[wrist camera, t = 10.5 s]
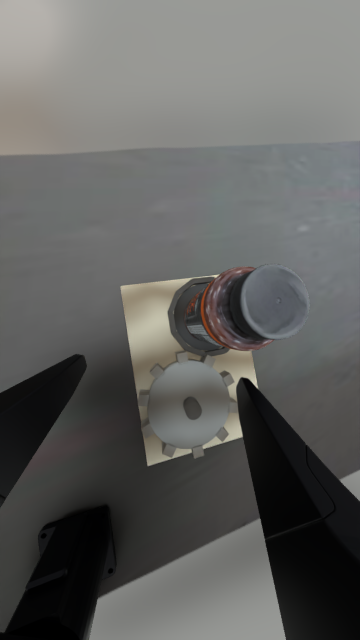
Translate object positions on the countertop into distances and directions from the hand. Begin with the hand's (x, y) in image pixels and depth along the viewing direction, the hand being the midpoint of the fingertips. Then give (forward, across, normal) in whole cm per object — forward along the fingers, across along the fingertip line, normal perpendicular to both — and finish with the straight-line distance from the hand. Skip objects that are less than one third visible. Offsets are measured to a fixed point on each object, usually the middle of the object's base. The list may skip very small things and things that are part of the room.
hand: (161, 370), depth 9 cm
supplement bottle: (+11, -4, +2) cm, 12 cm away
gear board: (+8, -3, +7) cm, 11 cm away
